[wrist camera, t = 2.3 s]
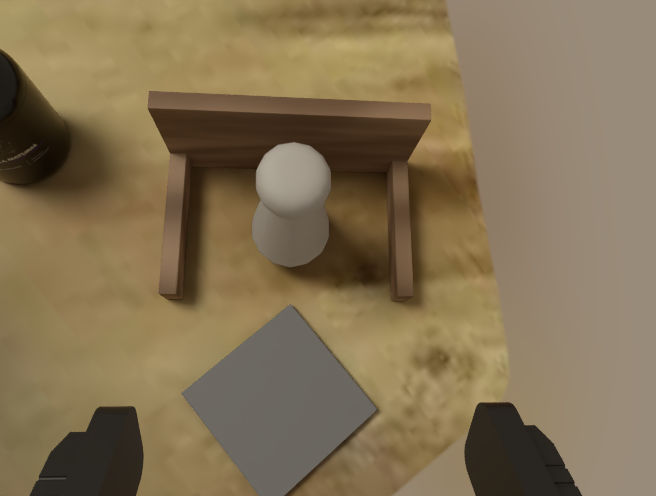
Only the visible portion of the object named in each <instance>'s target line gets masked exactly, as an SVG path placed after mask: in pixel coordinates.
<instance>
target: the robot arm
mask: <svg viewBox="0 0 656 496" xmlns="http://www.w3.org/2000/svg"><path fill="white" fill-rule="evenodd" d="M143 458H144V456H143V446H142V440H141V435H140V430H139V424H138V419H137V413H136V409H135V407H133V406H126V407H98V408H97V409H96V411H95V413H94V415H93V417H92V419H91V422H90V424H89V426H88V428H87V431H86V432H70V433H69V434H68V435H67V436H66V437H65V438H64V439H63V440H62V441H61V442H60V443H59V444H58V445H57V446H56V447H55V448H54V450H53V451H52V452H51V453H50V455H49V457H48V459H47V461H46V463H45V465H44V467H43V469H42V471H41V473H40V475H39V480H38V481H36V483H35V485H34V487H33V490H32V492H31V494H30V496H136V493H137V490H138V486H139V483H140V479H141V475H142V469H143ZM465 464H466V468H467V472H468V475H469V478H470V480H471V483H472V486H473V489H474V492H475V495H476V496H582V495H581V493H580V491H579V489H578V487H577V486H576V487H575V485H574V480H573V478H572V477H571V475H570V473H569V471H568V469H566V468H565V464H564V462H563V460H562V458H561V456H560V455H559V453H558V451H557V449H556V447H555V446H554V444H553V443H552V442H551V441H550V440H549V439H548V438H547V437H546V436H545V435H544V434H543V433H542V432H541V431H540V430H539V429H538V428H537V427H536V426H535V425H528V426H527V425H524V423H523V421H522V419H521V418H520V415H519V413H518V411H517V409H516V408H515V406H514V405H513V404H512V403H508V402H505V403H504V402H503V403H502V402H499V403H479V404H478V405H477V406H476V409H475V413H474V416H473V419H472V423H471V426H470V429H469V433H468V436H467V440H466V444H465Z"/></svg>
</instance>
